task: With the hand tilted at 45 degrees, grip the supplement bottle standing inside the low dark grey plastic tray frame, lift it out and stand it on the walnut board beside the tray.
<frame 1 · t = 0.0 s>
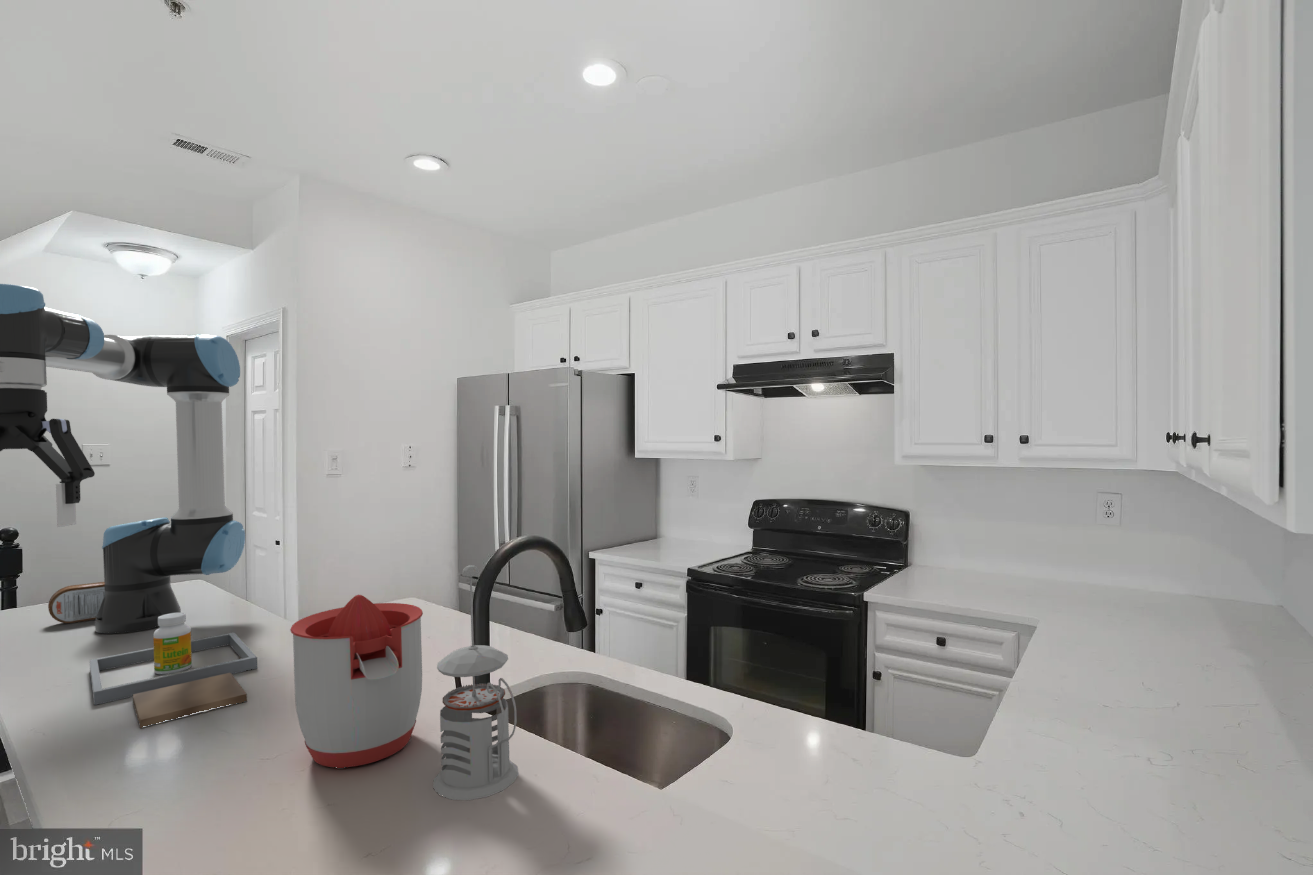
hand: (17, 527, 100), 28 cm above the countertop, tool pointing down, fingers open, 13 cm apart
walnut board: (189, 701, 102), on the countertop
tray frame: (173, 669, 117), on the countertop
french press: (480, 781, 77), on the countertop
citrus juicer: (364, 751, 85), on the countertop
tin: (92, 620, 153), on the countertop
supplement bottle: (173, 670, 117), resting in tray frame
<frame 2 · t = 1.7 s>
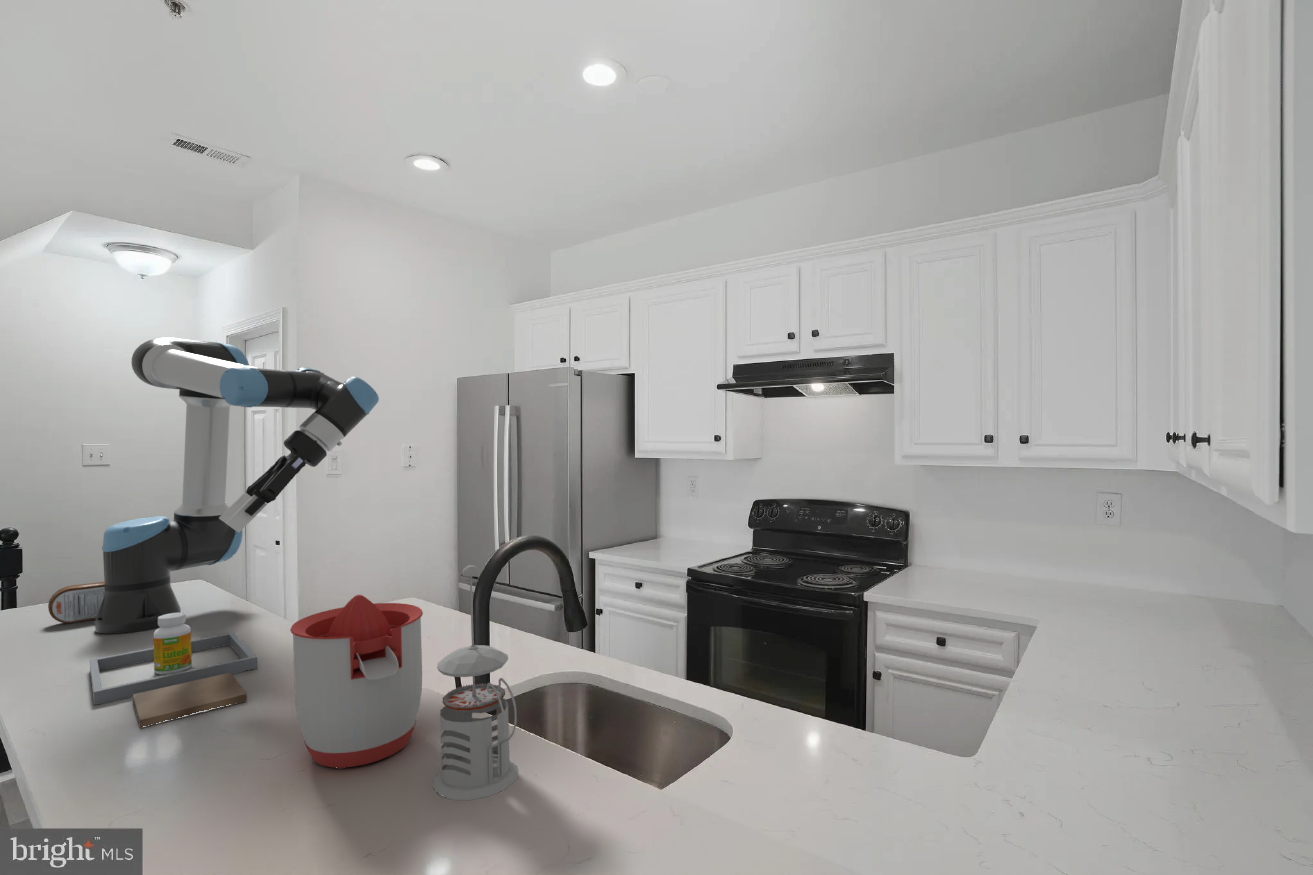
hand: (228, 525, 122), 25 cm above the countertop, tool tilted 45°, fingers open, 13 cm apart
nothing on the countertop moved.
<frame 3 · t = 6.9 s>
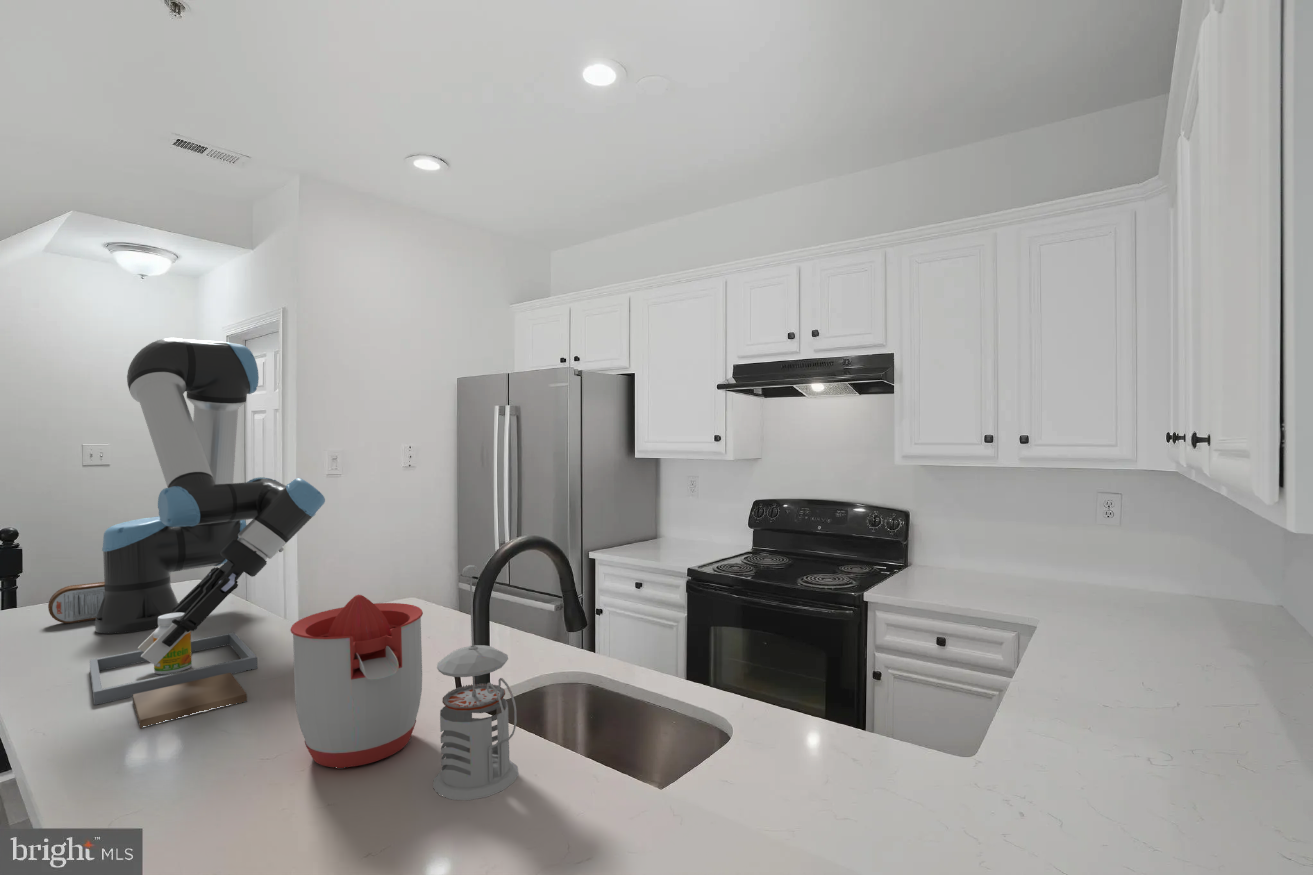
hand: (146, 655, 114), 3 cm above the countertop, tool tilted 45°, fingers closed on supplement bottle, 5 cm apart
supplement bottle: (173, 670, 117), resting in tray frame, touching gripper
everything else where it was.
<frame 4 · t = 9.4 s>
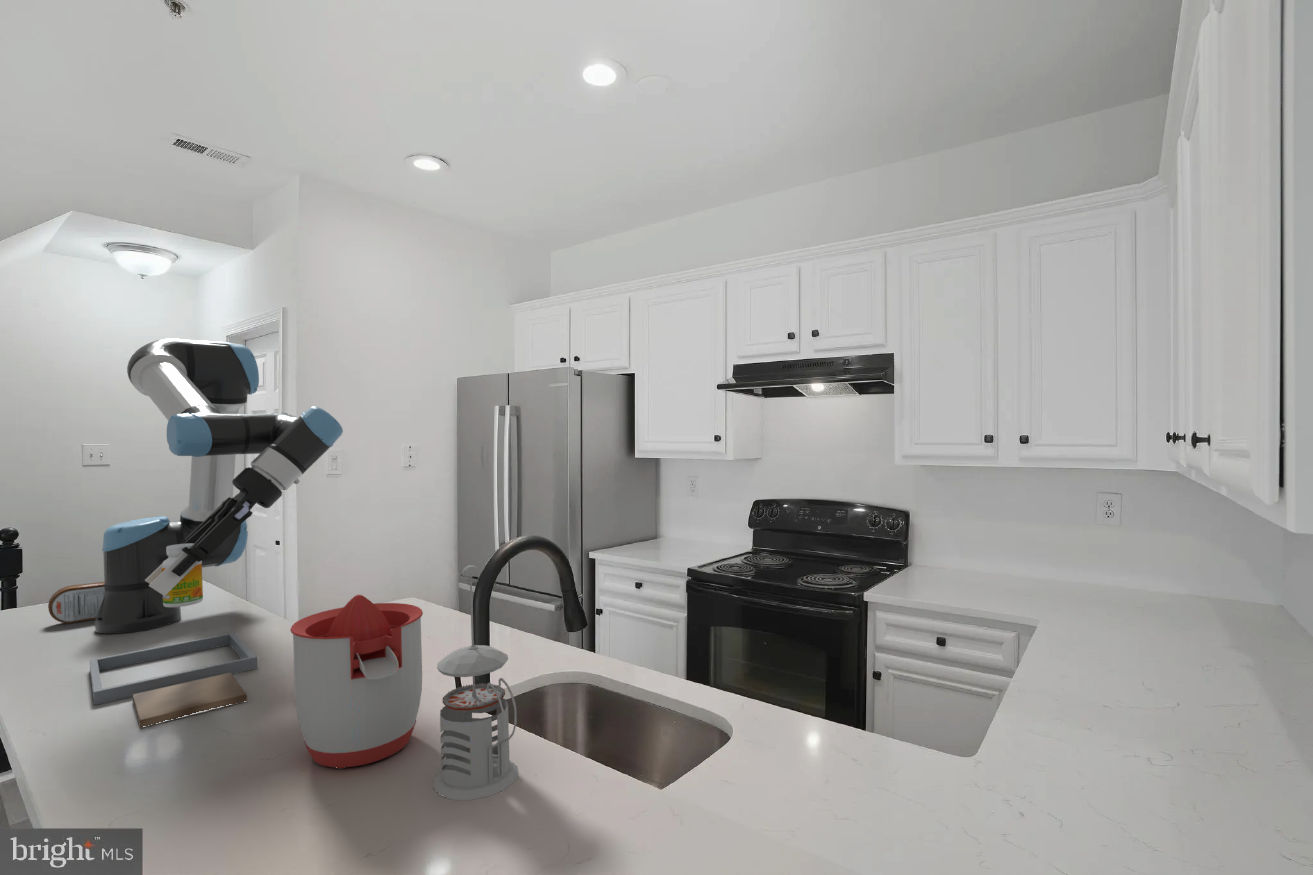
hand: (154, 587, 106), 17 cm above the countertop, tool tilted 45°, fingers closed on supplement bottle, 5 cm apart
supplement bottle: (183, 605, 109), point 13 cm above the countertop, touching gripper
everything else where it was.
when the fingers open (5 cm above the countertop, at t = 12.1 s): supplement bottle stays where it is, resting on walnut board.
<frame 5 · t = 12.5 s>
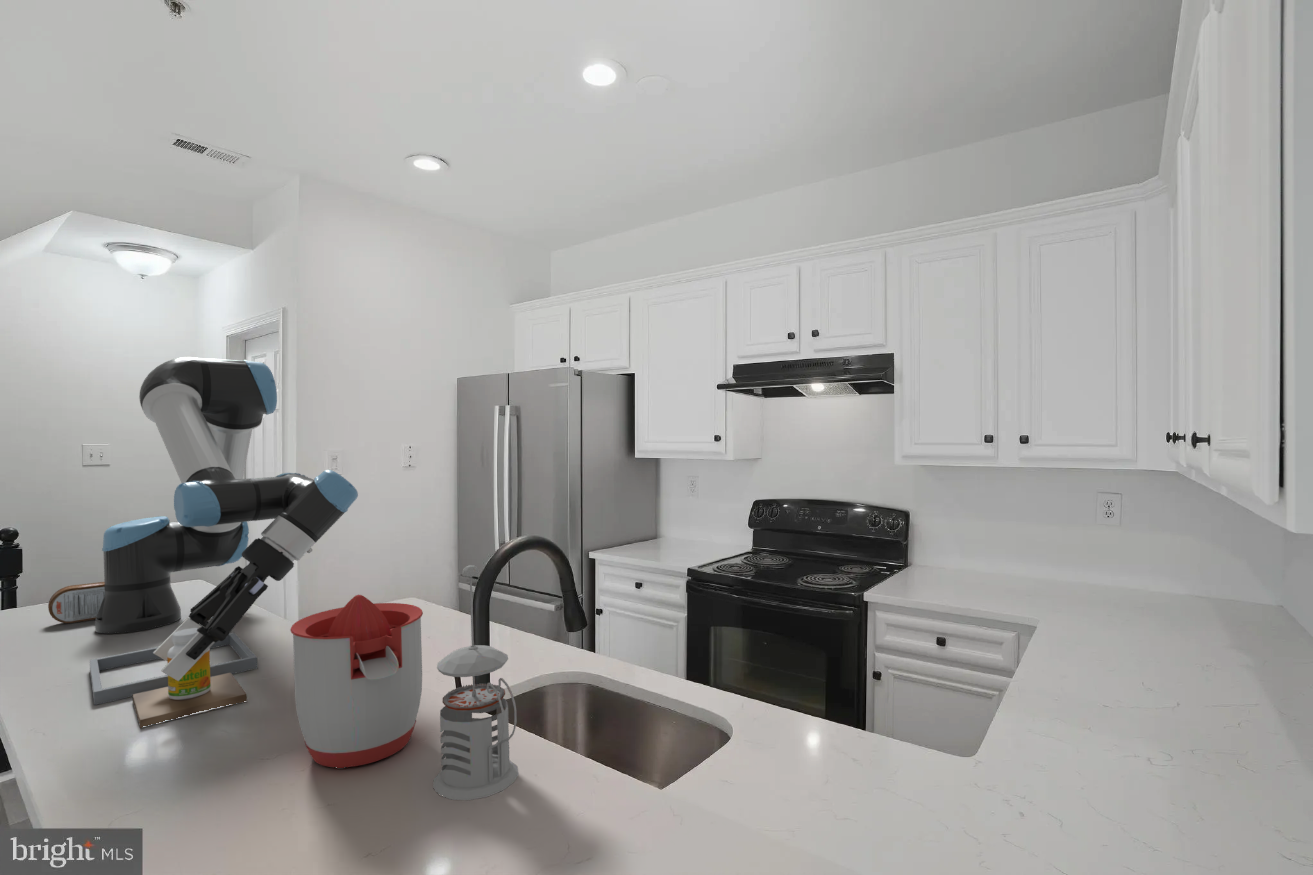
hand: (165, 666, 100), 6 cm above the countertop, tool tilted 45°, fingers open, 10 cm apart
supplement bottle: (190, 695, 102), point 1 cm above the countertop, touching walnut board
everything else where it was.
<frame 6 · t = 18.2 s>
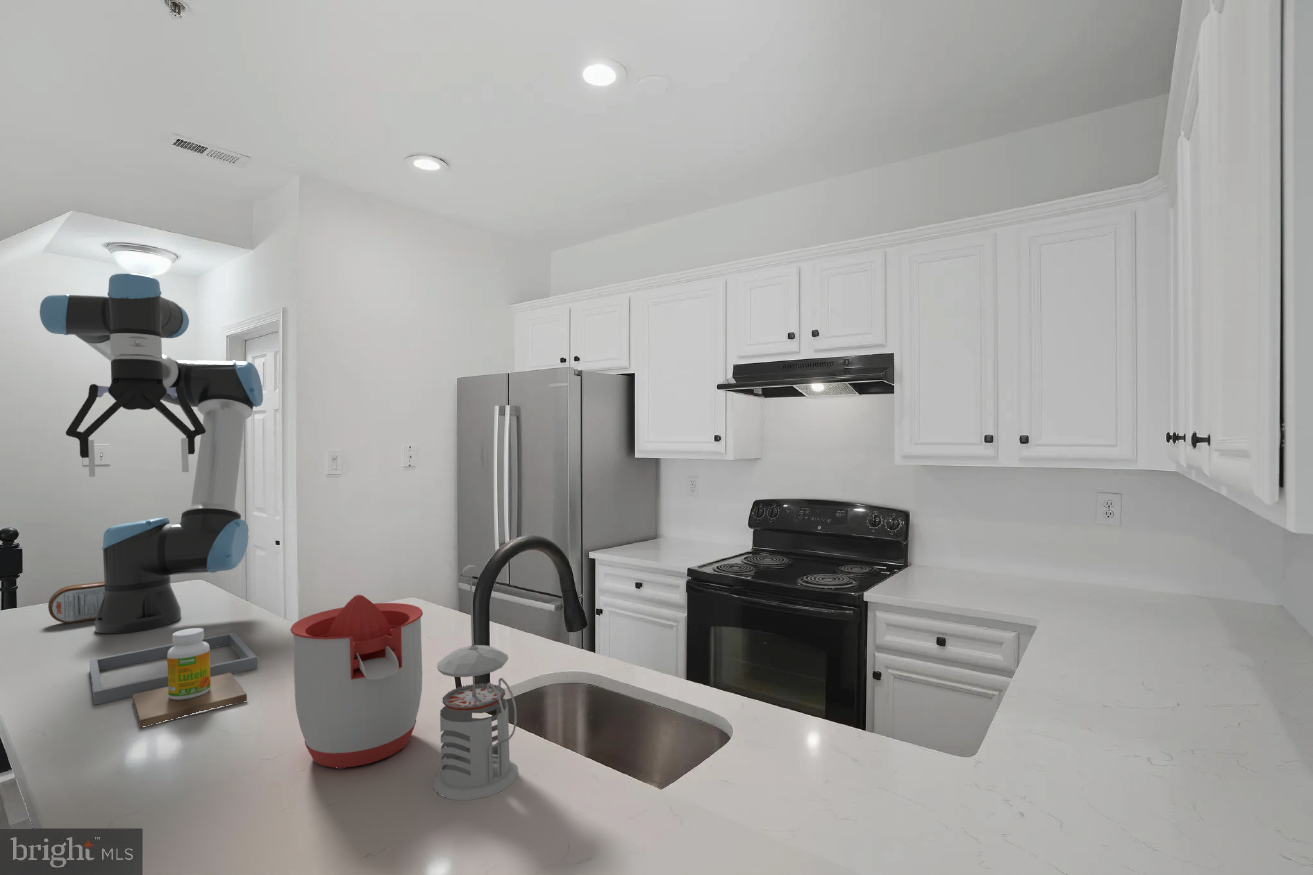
hand: (140, 474, 122), 35 cm above the countertop, tool pointing down, fingers open, 13 cm apart
nothing on the countertop moved.
at the end: supplement bottle inside the target area on the walnut board (0.1 cm from its centre), point 1.0 cm above the walnut board's base; supplement bottle tilted 0°; the gripper is holding nothing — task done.
